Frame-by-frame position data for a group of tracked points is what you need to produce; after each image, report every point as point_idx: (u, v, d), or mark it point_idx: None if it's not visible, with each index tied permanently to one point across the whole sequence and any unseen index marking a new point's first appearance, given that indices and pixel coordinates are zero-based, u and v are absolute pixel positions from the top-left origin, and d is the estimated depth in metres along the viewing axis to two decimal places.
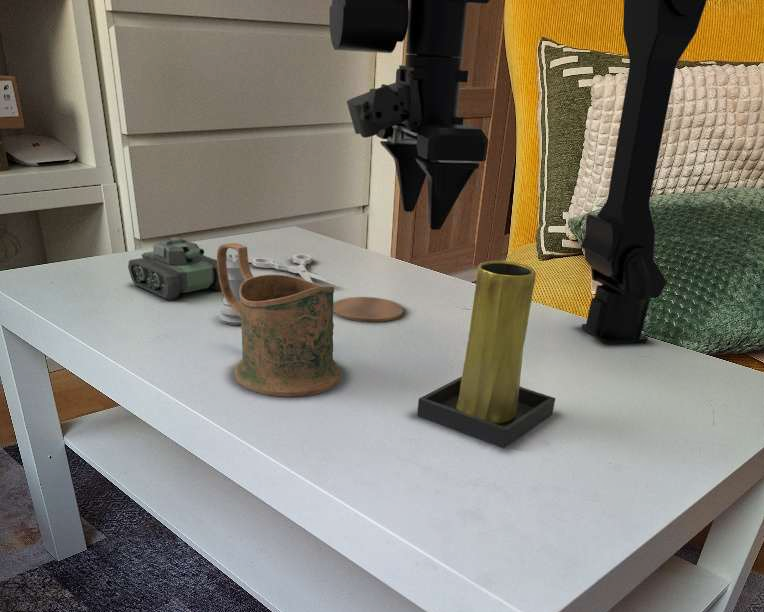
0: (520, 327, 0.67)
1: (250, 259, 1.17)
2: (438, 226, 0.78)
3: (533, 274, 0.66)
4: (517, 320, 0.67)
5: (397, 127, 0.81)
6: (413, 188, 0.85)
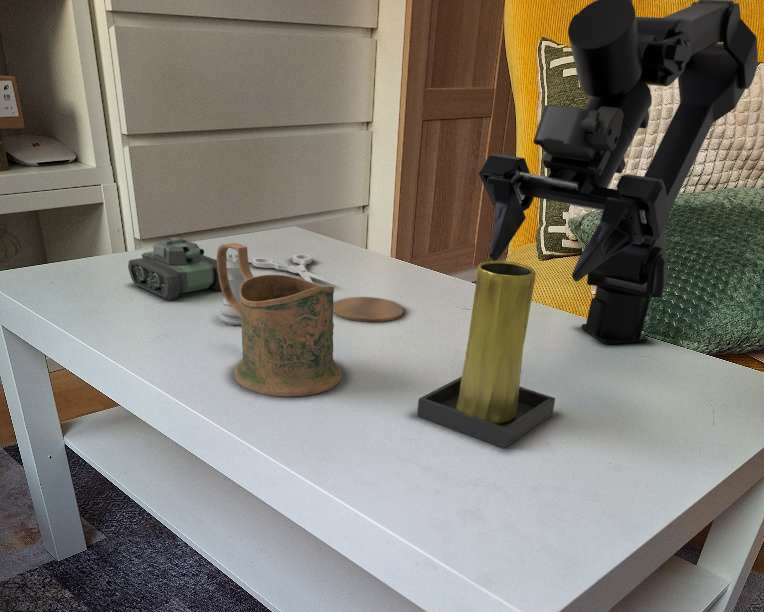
0: (520, 327, 0.67)
1: (250, 259, 1.17)
2: (579, 277, 0.70)
3: (533, 274, 0.66)
4: (517, 320, 0.67)
5: (521, 173, 0.74)
6: (503, 240, 0.75)
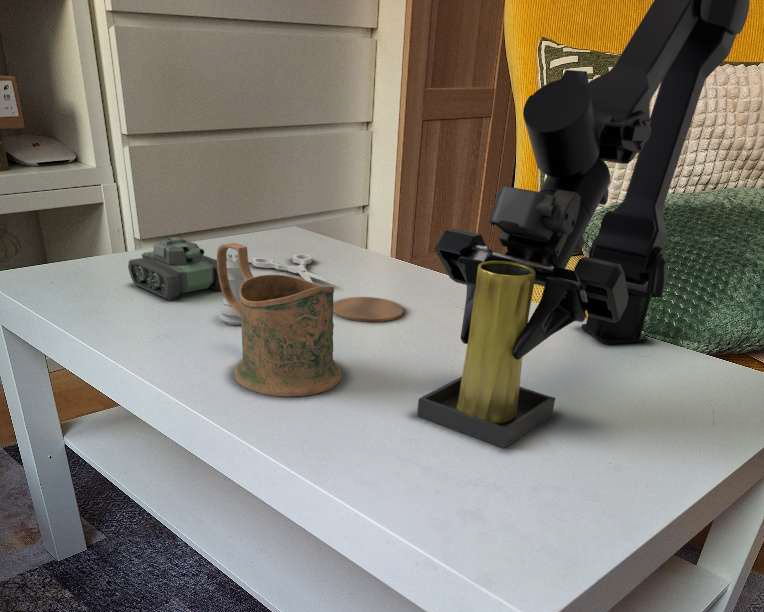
0: (520, 327, 0.67)
1: (250, 259, 1.17)
2: (520, 355, 0.68)
3: (532, 274, 0.66)
4: (517, 320, 0.67)
5: (494, 253, 0.70)
6: None
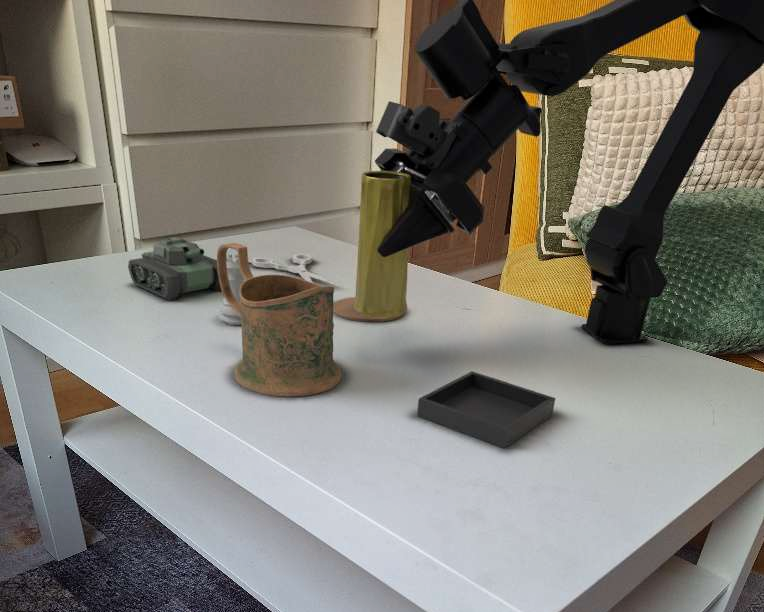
0: (387, 228, 0.77)
1: (250, 259, 1.17)
2: (385, 253, 0.78)
3: (397, 179, 0.75)
4: (382, 220, 0.77)
5: (406, 168, 0.80)
6: None
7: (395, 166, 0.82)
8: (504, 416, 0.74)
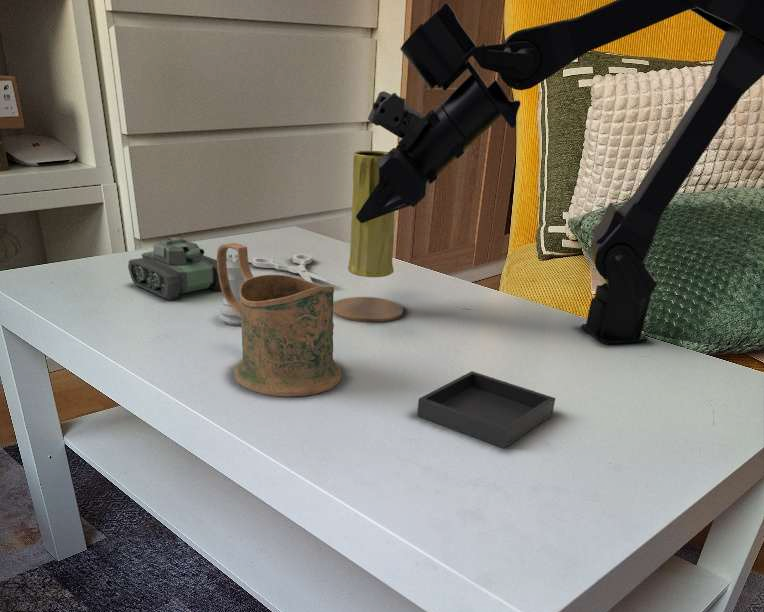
0: (365, 198, 0.91)
1: (250, 259, 1.17)
2: (361, 219, 0.92)
3: (373, 156, 0.88)
4: (362, 191, 0.91)
5: None
6: None
7: None
8: (504, 416, 0.74)
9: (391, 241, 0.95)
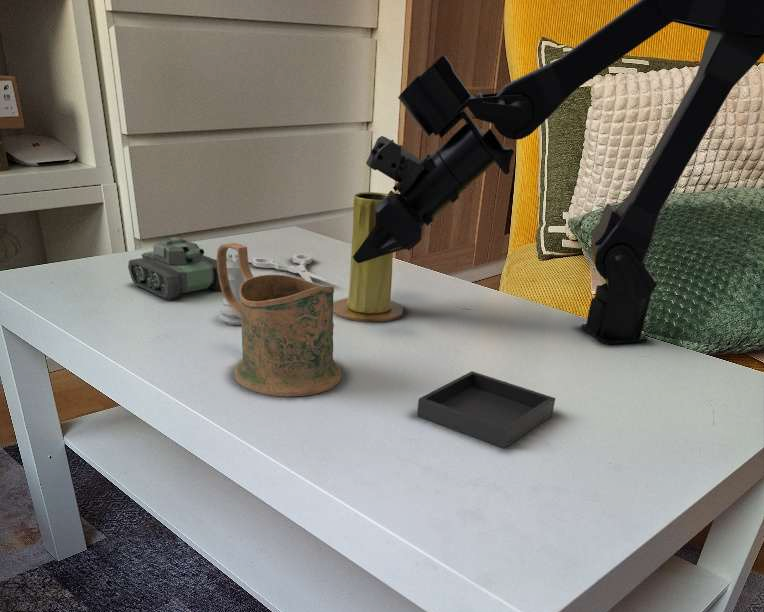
0: None
1: (250, 259, 1.17)
2: (358, 260, 0.94)
3: (373, 200, 0.91)
4: (362, 232, 0.93)
5: None
6: None
7: None
8: (504, 416, 0.74)
9: (389, 279, 0.98)
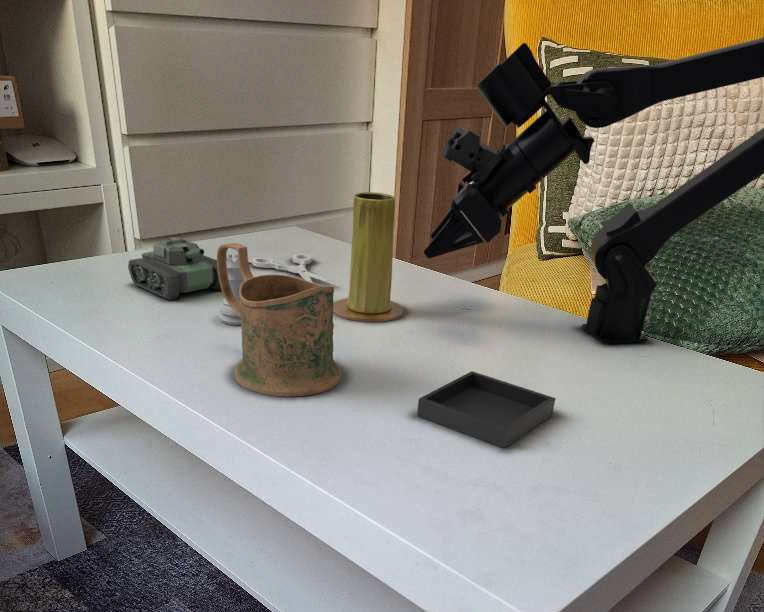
0: (365, 239, 0.93)
1: (250, 259, 1.17)
2: (429, 255, 0.91)
3: (373, 200, 0.91)
4: (362, 232, 0.93)
5: None
6: None
7: (471, 182, 0.95)
8: (504, 416, 0.74)
9: (389, 279, 0.98)
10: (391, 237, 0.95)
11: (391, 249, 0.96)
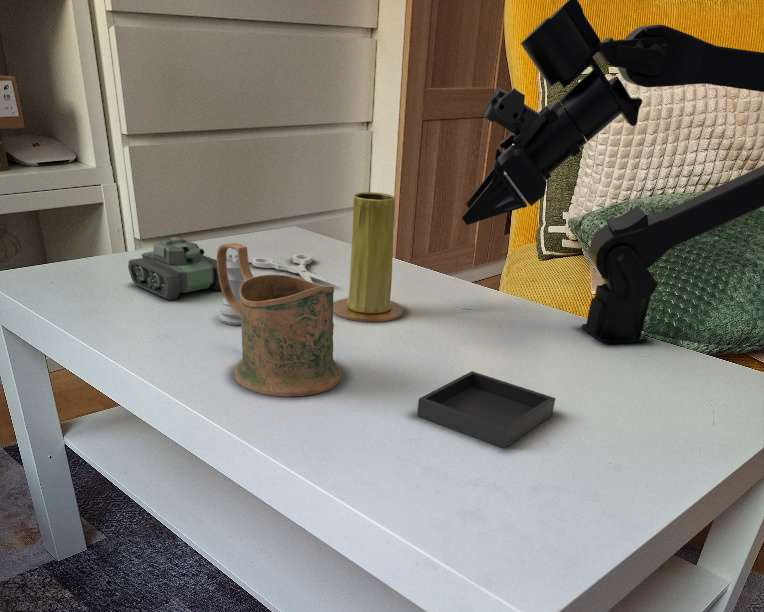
0: (365, 239, 0.93)
1: (250, 259, 1.17)
2: (468, 221, 0.88)
3: (373, 200, 0.91)
4: (362, 232, 0.93)
5: None
6: None
7: None
8: (504, 416, 0.74)
9: (389, 279, 0.98)
10: (391, 237, 0.95)
11: (391, 249, 0.96)
